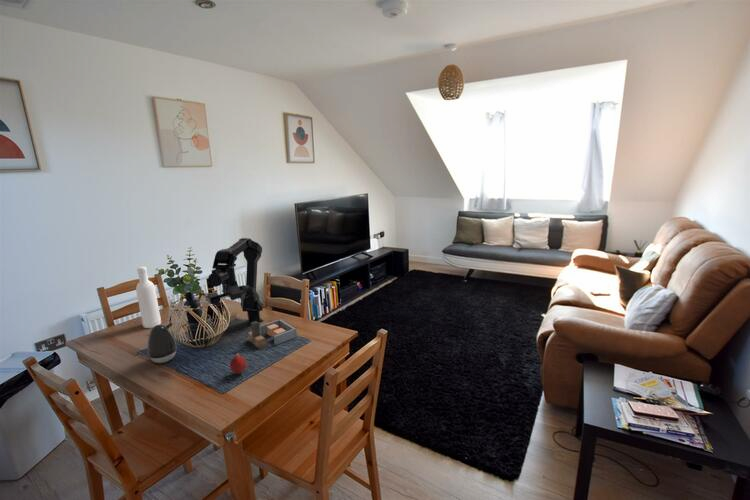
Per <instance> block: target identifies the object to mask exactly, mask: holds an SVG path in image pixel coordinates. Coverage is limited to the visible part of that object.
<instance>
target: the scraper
mask: <svg viewBox="0 0 750 500" xmlns="http://www.w3.org/2000/svg"><path fill="white" fill-rule="evenodd" d="M259 326H260V322H257V321H254V322H251V325H250V327H251V331H249V332H247V338H248V341H249V343H251V342H252V343H251V344H253V345H254V346H255V347H256V348H257V347H258V349H259V350H261V349H264V348H266V347H267V342H266V338H265V337H264V336H263V335H261V334H260V327H259Z"/></svg>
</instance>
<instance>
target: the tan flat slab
mask: <svg viewBox="0 0 750 500" xmlns="http://www.w3.org/2000/svg"><path fill="white" fill-rule="evenodd" d="M231 313H232V314H231V321H230V323H232V322H233V321H234V320H235V319H237V318H238V316H237V315H238V314H237V313H238V312H237V311H233V312H231Z"/></svg>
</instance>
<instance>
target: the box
mask: <svg viewBox="0 0 750 500" xmlns="http://www.w3.org/2000/svg"><path fill="white" fill-rule="evenodd" d="M272 324H276V325H278V326H279V329H280V328H282V329H284V330H285V331H286V332H283V333H281V334H278V335H275V336H273V343H274V346H277V345H280V344H282V343H285V342H287V341H291V340H293V339H296V338H297V337H298V336H297V335H298V334H297V333H298V332H297V328H295V327H294V326H292V325H290V324H289V323H287V322H285V320H283V319H280V318H278V319H277V320H274V321H273V320H272V321H271V322H268V323H264V324H262V325H259V329H260V335H261V336H263V335H264V334H267V326H269V325H272Z"/></svg>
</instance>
